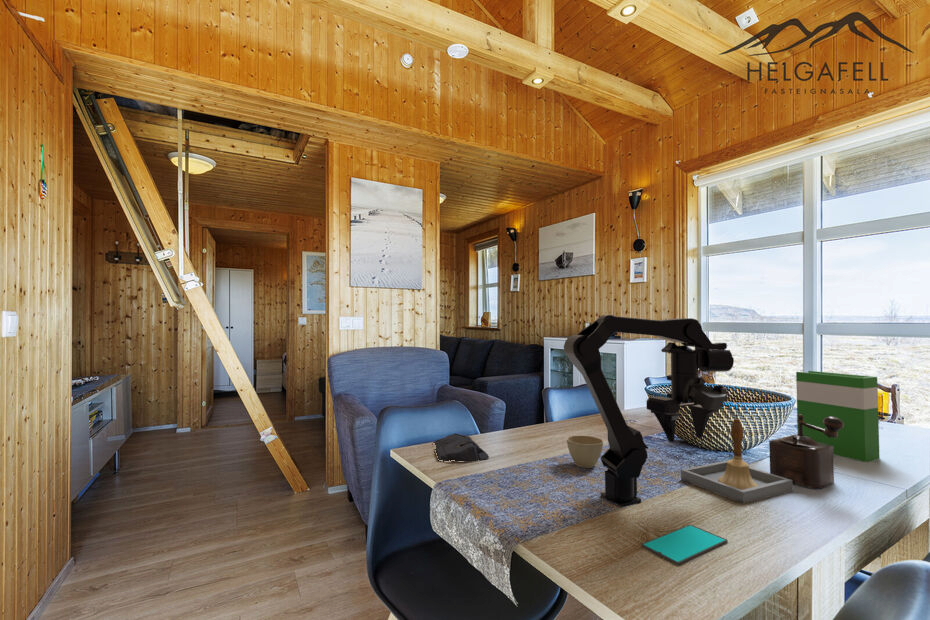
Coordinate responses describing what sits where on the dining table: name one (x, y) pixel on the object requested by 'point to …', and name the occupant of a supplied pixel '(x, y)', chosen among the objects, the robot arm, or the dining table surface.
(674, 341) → the robot arm
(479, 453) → the dark slate chunk
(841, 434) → the hardback book
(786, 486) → the tray
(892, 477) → the dining table surface
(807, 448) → the manual coffee grinder
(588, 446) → the flower pot
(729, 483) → the hand bell
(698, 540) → the smartphone
